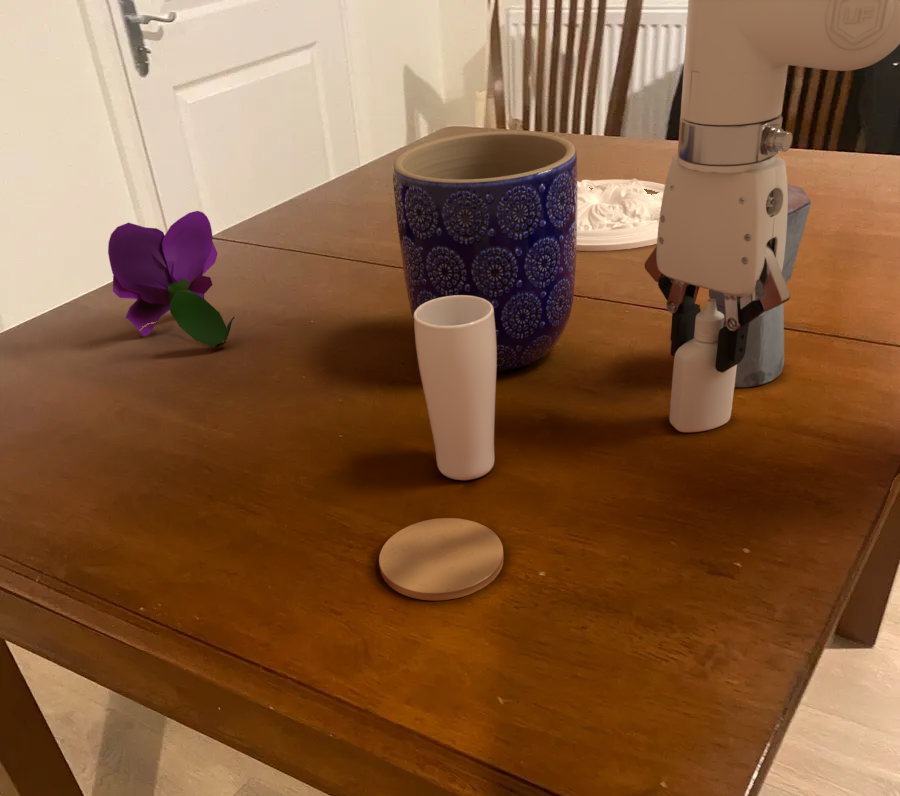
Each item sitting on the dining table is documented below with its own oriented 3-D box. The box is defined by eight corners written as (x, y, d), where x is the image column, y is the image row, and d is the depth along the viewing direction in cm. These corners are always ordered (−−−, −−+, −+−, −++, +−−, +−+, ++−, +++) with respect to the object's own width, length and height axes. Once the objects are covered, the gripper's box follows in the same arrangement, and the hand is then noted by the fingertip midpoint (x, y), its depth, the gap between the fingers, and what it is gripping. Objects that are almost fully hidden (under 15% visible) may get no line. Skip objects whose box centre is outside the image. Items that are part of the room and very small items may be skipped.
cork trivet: (529, 558, 73) (529, 550, 73) (435, 618, 68) (434, 610, 68) (446, 511, 79) (445, 503, 79) (355, 563, 74) (353, 556, 74)
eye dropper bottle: (670, 410, 90) (679, 290, 82) (730, 413, 88) (745, 290, 81) (667, 433, 86) (677, 309, 79) (729, 435, 85) (745, 310, 77)
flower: (269, 360, 118) (207, 292, 121) (281, 269, 106) (211, 195, 109) (171, 404, 111) (108, 330, 114) (172, 311, 98) (100, 231, 101)
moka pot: (675, 396, 92) (692, 185, 79) (703, 333, 102) (723, 138, 90) (774, 406, 89) (809, 188, 76) (793, 340, 99) (826, 139, 87)
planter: (551, 396, 94) (548, 183, 81) (387, 380, 100) (360, 179, 87) (593, 323, 107) (597, 130, 94) (446, 312, 113) (430, 129, 100)
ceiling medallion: (729, 197, 138) (732, 175, 136) (656, 261, 120) (657, 236, 118) (562, 182, 151) (562, 161, 149) (474, 237, 133) (473, 215, 131)
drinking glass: (511, 452, 86) (504, 296, 76) (490, 491, 81) (480, 329, 72) (444, 445, 88) (428, 292, 78) (419, 483, 83) (400, 324, 74)
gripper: (853, 142, 68) (812, 370, 80) (670, 117, 79) (657, 322, 90) (796, 167, 65) (762, 402, 76) (613, 138, 75) (607, 348, 87)
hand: (705, 357), depth 83 cm, fingers closed on eye dropper bottle, 4 cm apart
